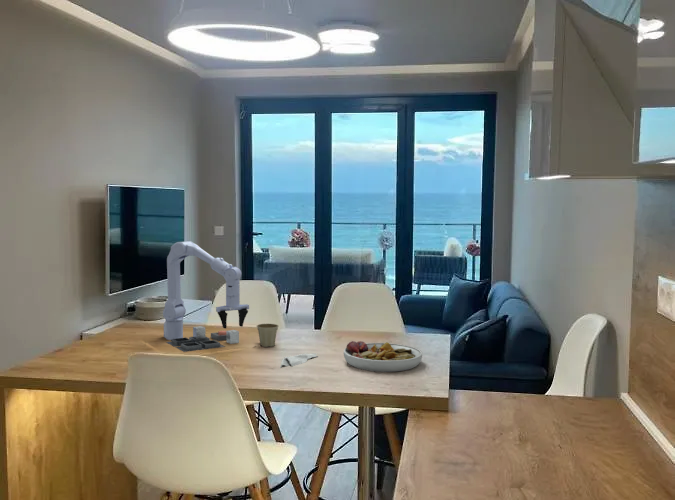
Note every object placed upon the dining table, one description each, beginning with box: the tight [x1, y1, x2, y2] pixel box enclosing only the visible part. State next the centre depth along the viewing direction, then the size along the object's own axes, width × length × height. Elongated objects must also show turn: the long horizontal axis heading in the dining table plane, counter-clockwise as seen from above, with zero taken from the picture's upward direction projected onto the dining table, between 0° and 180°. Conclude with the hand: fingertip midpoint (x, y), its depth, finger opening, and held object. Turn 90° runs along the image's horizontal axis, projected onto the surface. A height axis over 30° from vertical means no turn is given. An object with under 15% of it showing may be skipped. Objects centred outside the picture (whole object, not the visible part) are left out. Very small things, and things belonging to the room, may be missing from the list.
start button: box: [218, 330, 227, 335], centre depth 278 cm, size 4×4×2 cm
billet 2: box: [225, 329, 240, 345], centre depth 269 cm, size 4×4×6 cm
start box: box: [210, 332, 226, 342], centre depth 278 cm, size 8×8×3 cm
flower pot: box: [256, 323, 279, 348], centre depth 269 cm, size 9×9×9 cm
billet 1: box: [192, 325, 206, 339], centre depth 271 cm, size 4×4×6 cm
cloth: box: [280, 353, 319, 369], centre depth 244 cm, size 26×14×2 cm, turn 139°
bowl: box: [343, 340, 423, 373], centre depth 241 cm, size 30×30×8 cm
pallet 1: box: [165, 335, 211, 348], centre depth 269 cm, size 10×18×2 cm, turn 125°
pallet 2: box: [175, 339, 226, 353], centre depth 260 cm, size 10×18×2 cm, turn 125°
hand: (232, 327), depth 269 cm, fingers open, 7 cm apart
